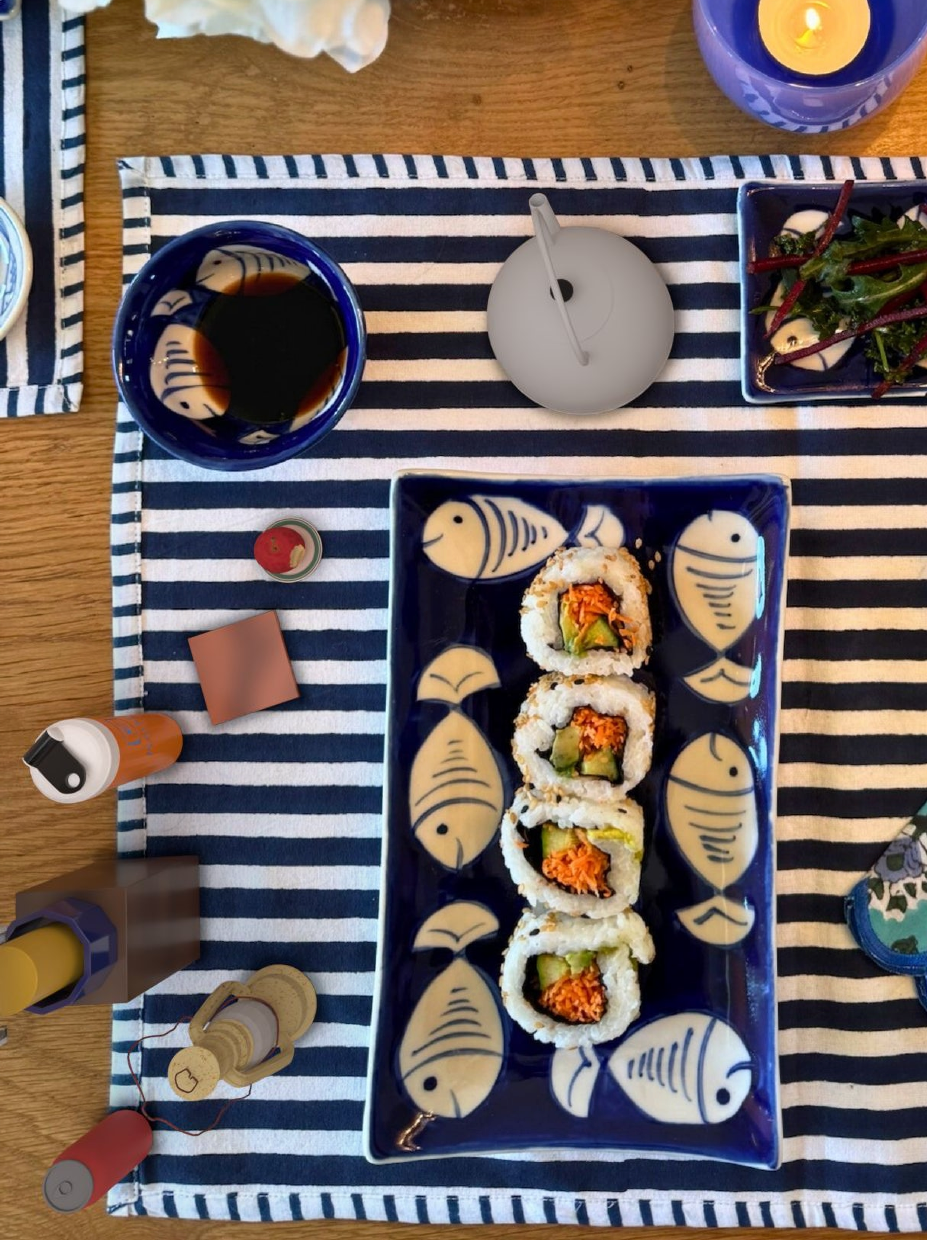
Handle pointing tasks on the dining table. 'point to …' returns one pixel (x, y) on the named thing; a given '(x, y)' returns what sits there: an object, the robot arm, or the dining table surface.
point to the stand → (132, 918)
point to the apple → (288, 549)
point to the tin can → (38, 966)
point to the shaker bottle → (101, 754)
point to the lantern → (241, 1034)
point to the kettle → (579, 317)
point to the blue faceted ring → (92, 934)
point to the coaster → (243, 667)
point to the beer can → (97, 1162)
